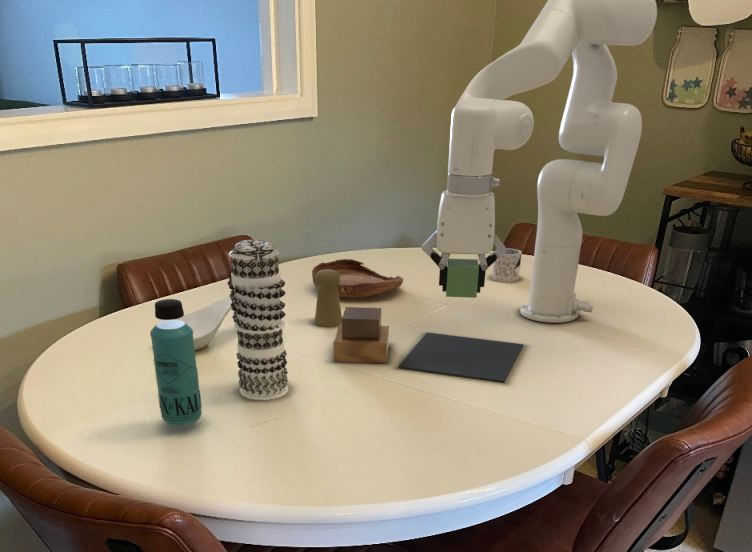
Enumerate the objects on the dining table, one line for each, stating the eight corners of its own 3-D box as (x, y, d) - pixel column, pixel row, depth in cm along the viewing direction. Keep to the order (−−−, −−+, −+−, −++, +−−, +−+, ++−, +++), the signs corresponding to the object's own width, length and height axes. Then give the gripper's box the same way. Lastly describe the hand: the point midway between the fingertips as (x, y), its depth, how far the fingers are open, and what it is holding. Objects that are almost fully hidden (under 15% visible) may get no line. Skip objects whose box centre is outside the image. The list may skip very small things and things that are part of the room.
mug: (520, 282, 193) (523, 255, 189) (494, 282, 193) (496, 254, 189) (514, 271, 201) (517, 245, 198) (489, 271, 202) (491, 245, 198)
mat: (523, 346, 155) (523, 344, 154) (504, 382, 139) (504, 380, 138) (426, 334, 160) (427, 332, 160) (398, 368, 144) (398, 366, 144)
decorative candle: (268, 405, 130) (258, 253, 116) (226, 393, 134) (212, 245, 120) (300, 387, 136) (294, 241, 123) (259, 376, 140) (249, 234, 127)
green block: (475, 289, 144) (477, 259, 141) (476, 297, 139) (479, 267, 136) (445, 288, 144) (447, 258, 141) (446, 296, 140) (448, 266, 137)
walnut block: (381, 328, 151) (381, 307, 149) (379, 340, 145) (379, 319, 143) (345, 326, 152) (345, 306, 149) (342, 339, 146) (341, 318, 144)
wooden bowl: (418, 288, 188) (419, 267, 185) (375, 309, 174) (375, 287, 171) (342, 274, 198) (342, 254, 195) (295, 293, 184) (294, 272, 181)
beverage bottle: (165, 417, 125) (147, 295, 115) (206, 415, 126) (192, 294, 115) (159, 435, 120) (140, 308, 109) (202, 433, 120) (187, 307, 110)
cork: (338, 327, 163) (338, 275, 157) (311, 325, 164) (309, 273, 158) (345, 318, 168) (344, 267, 162) (318, 316, 169) (317, 265, 163)
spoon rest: (180, 361, 146) (175, 325, 142) (147, 345, 153) (141, 310, 149) (277, 332, 160) (275, 298, 156) (243, 319, 167) (240, 286, 163)
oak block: (388, 345, 154) (389, 325, 152) (386, 363, 146) (386, 343, 144) (339, 343, 155) (338, 324, 153) (333, 361, 147) (333, 341, 144)
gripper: (517, 182, 135) (506, 286, 144) (419, 180, 136) (414, 283, 145) (521, 189, 128) (509, 297, 138) (418, 187, 129) (413, 294, 139)
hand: (461, 289), depth 142 cm, fingers closed on green block, 5 cm apart
